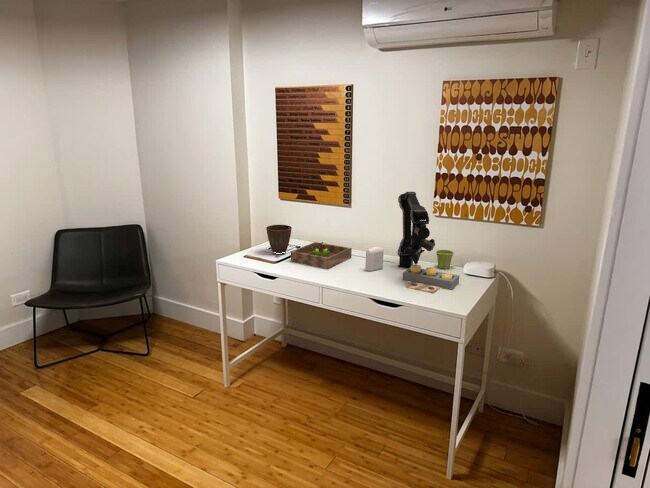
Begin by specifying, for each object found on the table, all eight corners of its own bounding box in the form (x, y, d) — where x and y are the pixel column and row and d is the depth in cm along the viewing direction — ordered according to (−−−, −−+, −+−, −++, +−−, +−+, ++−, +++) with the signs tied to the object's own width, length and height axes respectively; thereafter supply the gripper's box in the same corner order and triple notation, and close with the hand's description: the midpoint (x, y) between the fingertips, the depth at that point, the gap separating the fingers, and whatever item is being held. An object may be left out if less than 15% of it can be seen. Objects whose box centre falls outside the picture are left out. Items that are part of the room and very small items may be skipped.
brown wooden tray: (290, 261, 257) (290, 251, 255) (315, 251, 277) (315, 241, 275) (328, 269, 244) (328, 258, 242) (351, 258, 264) (351, 248, 262)
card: (405, 287, 217) (405, 285, 217) (412, 282, 224) (412, 281, 224) (433, 293, 210) (434, 291, 210) (439, 288, 217) (439, 286, 216)
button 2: (424, 277, 224) (424, 269, 223) (427, 274, 228) (428, 266, 227) (433, 279, 222) (434, 271, 221) (437, 276, 226) (437, 268, 225)
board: (402, 280, 228) (402, 272, 227) (410, 274, 237) (411, 266, 236) (451, 289, 215) (452, 281, 214) (458, 283, 224) (459, 275, 223)
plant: (308, 266, 249) (307, 247, 246) (300, 257, 267) (300, 238, 264) (343, 264, 254) (343, 244, 251) (333, 254, 272) (333, 236, 269)
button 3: (439, 283, 220) (440, 275, 219) (443, 280, 225) (443, 272, 224) (449, 285, 218) (450, 277, 217) (453, 282, 222) (453, 274, 221)
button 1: (408, 274, 228) (409, 266, 227) (412, 271, 232) (413, 264, 231) (418, 276, 226) (418, 268, 225) (421, 273, 230) (422, 265, 229)
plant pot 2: (440, 270, 242) (441, 255, 240) (431, 265, 251) (432, 250, 249) (455, 269, 245) (457, 253, 242) (446, 264, 253) (448, 249, 251)
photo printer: (378, 266, 248) (379, 244, 245) (384, 268, 245) (385, 246, 242) (364, 270, 243) (364, 247, 240) (369, 272, 239) (369, 249, 236)
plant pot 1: (295, 251, 277) (295, 225, 273) (286, 258, 264) (285, 231, 259) (273, 249, 282) (272, 223, 278) (262, 255, 268) (261, 229, 264)
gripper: (426, 240, 212) (424, 272, 216) (440, 232, 227) (437, 262, 231) (404, 237, 218) (402, 268, 222) (418, 229, 233) (417, 258, 237)
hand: (415, 264), depth 228 cm, fingers closed
